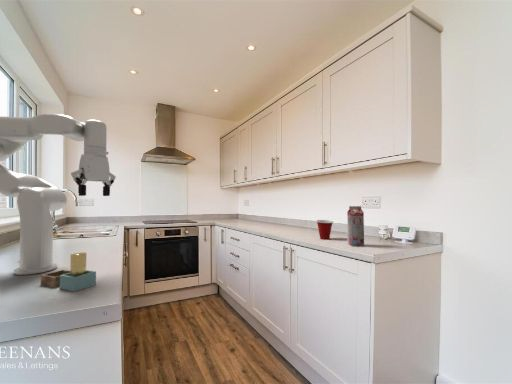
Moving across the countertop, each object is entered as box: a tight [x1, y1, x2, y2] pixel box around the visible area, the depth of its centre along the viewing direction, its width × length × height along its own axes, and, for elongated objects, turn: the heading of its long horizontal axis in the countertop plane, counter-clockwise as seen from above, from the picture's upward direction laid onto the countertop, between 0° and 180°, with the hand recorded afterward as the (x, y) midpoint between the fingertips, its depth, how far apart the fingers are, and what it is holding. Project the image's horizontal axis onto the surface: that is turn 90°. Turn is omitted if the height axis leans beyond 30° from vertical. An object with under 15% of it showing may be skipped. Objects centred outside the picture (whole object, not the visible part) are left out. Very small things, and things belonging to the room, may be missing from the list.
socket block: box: [40, 269, 70, 288], centre depth 82 cm, size 7×7×3 cm
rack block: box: [59, 269, 97, 292], centre depth 78 cm, size 7×7×4 cm
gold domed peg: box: [69, 252, 87, 277], centre depth 78 cm, size 4×4×10 cm
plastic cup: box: [316, 219, 334, 240], centre depth 166 cm, size 11×11×12 cm
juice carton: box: [346, 205, 365, 247], centre depth 143 cm, size 7×7×22 cm
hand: (94, 195), depth 100 cm, fingers open, 9 cm apart
